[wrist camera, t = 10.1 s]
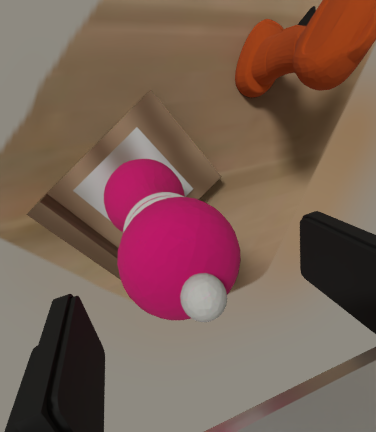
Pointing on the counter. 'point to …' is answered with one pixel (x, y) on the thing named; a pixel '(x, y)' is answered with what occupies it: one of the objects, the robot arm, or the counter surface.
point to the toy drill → (308, 47)
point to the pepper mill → (170, 244)
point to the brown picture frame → (102, 170)
